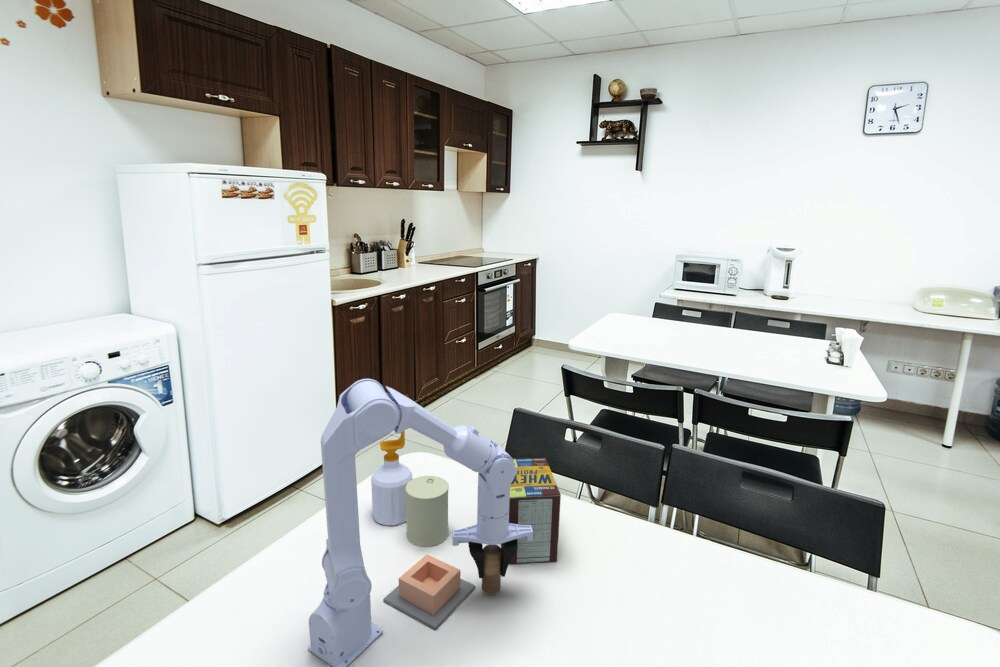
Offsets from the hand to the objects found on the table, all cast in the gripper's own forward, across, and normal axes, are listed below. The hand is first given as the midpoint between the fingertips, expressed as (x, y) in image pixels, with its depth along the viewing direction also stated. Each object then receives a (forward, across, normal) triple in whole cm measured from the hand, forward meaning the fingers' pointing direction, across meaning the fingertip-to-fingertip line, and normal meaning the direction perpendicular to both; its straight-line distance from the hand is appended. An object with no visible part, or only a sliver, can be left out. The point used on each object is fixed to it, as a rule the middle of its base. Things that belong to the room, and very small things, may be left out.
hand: (491, 573), depth 99 cm
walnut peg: (+3, 0, 0) cm, 3 cm away
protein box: (+4, -10, -14) cm, 18 cm away
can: (+4, +12, -19) cm, 23 cm away
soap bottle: (+4, +19, -27) cm, 33 cm away
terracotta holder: (+4, +11, 0) cm, 12 cm away
